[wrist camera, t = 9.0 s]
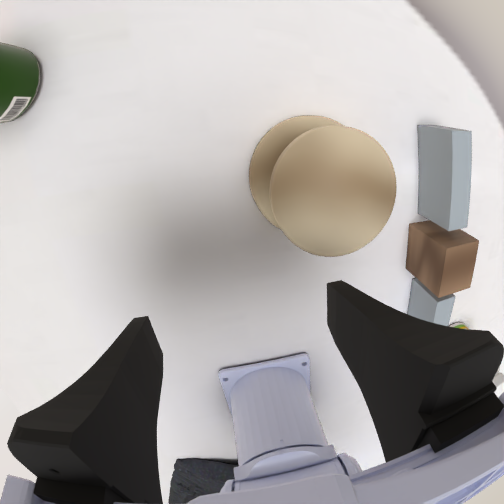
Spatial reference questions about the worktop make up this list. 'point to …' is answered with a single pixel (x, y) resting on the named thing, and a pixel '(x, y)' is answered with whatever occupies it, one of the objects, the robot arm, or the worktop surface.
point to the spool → (323, 184)
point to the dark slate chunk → (198, 479)
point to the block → (441, 257)
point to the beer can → (17, 81)
